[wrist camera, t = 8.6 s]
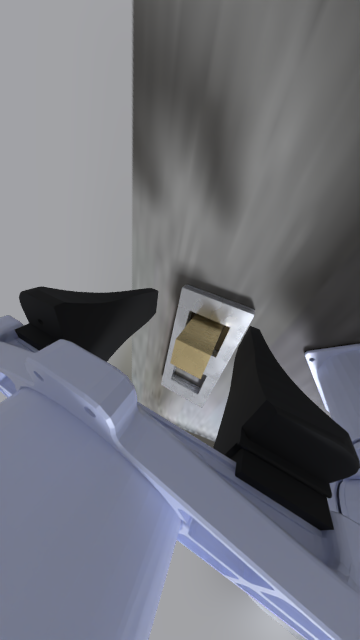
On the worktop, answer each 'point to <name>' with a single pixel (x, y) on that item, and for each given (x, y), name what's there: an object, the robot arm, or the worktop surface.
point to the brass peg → (196, 345)
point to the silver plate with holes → (238, 323)
